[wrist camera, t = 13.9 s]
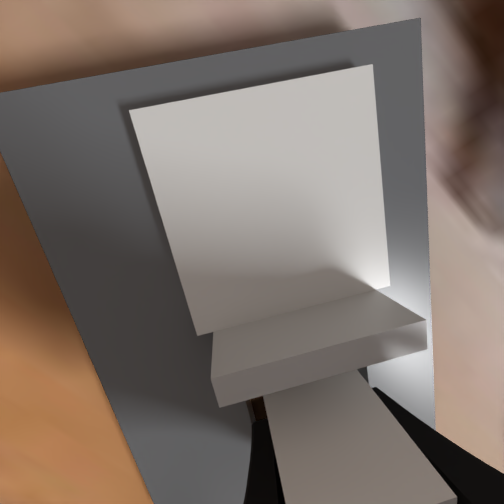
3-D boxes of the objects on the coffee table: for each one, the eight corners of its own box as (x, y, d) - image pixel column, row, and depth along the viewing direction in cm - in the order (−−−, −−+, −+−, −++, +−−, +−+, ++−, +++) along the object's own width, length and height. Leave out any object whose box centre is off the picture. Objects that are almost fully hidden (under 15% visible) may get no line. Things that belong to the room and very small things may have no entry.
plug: (340, 400, 13) (456, 598, 7) (269, 420, 13) (319, 648, 6) (331, 337, 12) (457, 496, 6) (255, 357, 12) (295, 550, 6)
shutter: (363, 71, 8) (438, 6, 5) (384, 303, 10) (445, 344, 7) (134, 115, 8) (83, 68, 5) (205, 350, 10) (198, 413, 7)
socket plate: (374, 58, 10) (420, 17, 8) (404, 446, 16) (437, 491, 13) (38, 122, 10) (-24, 96, 7) (190, 512, 15) (184, 574, 12)
